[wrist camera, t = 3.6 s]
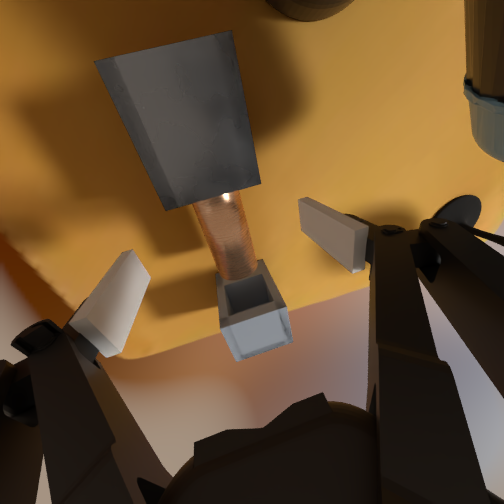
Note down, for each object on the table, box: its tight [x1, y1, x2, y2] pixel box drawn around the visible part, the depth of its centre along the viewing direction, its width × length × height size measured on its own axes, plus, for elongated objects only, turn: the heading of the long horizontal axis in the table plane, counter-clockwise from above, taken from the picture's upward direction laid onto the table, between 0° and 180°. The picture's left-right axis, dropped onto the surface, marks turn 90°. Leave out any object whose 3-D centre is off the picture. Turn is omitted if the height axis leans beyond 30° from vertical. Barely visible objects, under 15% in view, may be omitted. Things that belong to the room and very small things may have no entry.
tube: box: [192, 190, 258, 280], centre depth 18 cm, size 16×4×4 cm, turn 13°
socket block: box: [216, 259, 293, 362], centre depth 26 cm, size 6×7×10 cm
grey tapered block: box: [94, 30, 261, 211], centre depth 16 cm, size 8×7×10 cm
